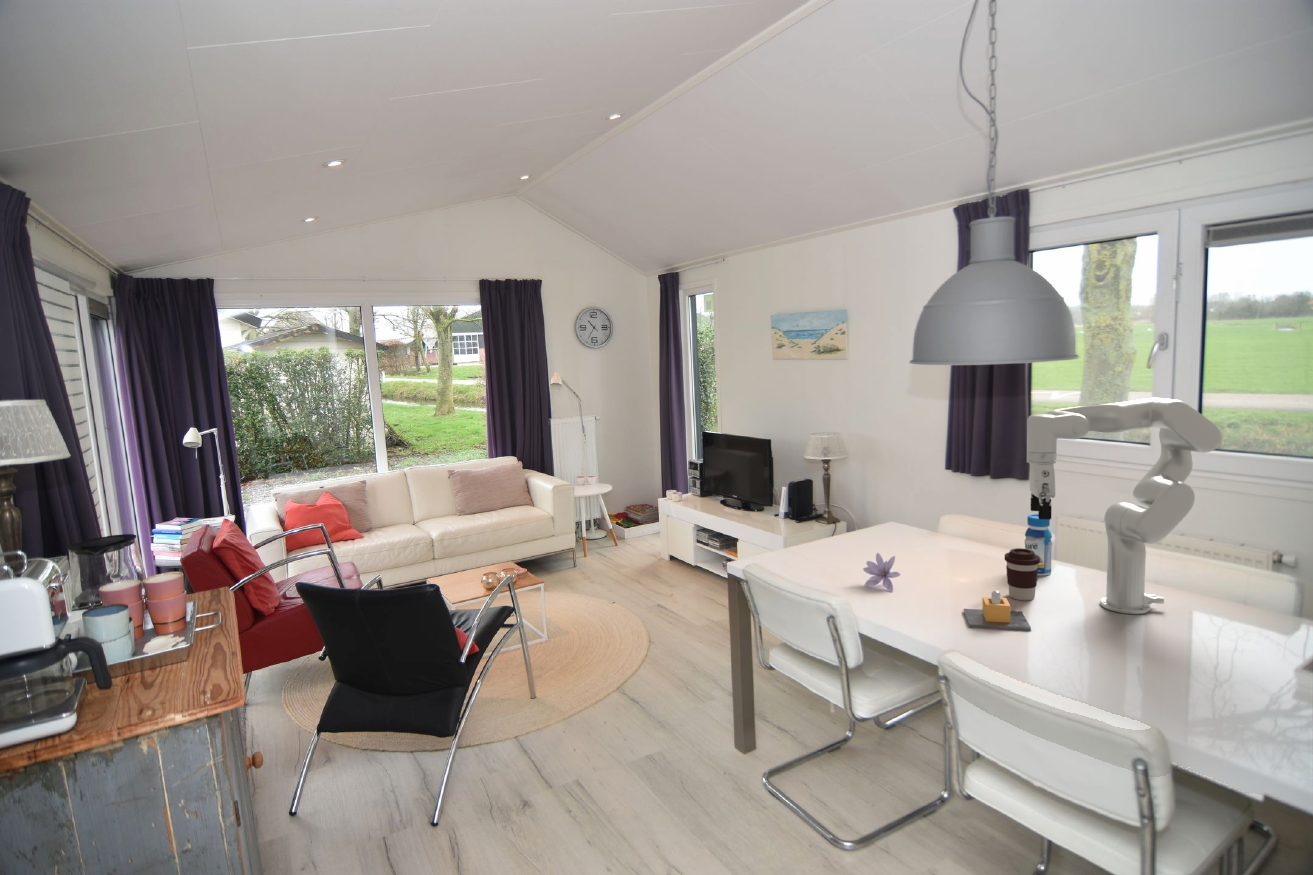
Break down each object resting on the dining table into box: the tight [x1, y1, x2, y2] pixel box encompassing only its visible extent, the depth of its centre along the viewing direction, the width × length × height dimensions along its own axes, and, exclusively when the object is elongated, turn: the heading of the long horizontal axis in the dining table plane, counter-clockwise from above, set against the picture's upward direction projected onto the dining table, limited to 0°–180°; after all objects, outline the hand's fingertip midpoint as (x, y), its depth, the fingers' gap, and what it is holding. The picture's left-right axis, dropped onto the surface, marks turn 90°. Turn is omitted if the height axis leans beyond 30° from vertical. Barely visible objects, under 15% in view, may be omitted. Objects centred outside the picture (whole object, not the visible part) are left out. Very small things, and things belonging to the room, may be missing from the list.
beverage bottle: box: [1024, 513, 1053, 577], centre depth 243 cm, size 8×8×20 cm
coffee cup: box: [1004, 547, 1040, 602], centre depth 222 cm, size 10×10×15 cm
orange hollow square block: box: [981, 596, 1011, 622], centre depth 206 cm, size 6×6×5 cm
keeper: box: [963, 590, 1032, 632], centre depth 206 cm, size 16×12×9 cm
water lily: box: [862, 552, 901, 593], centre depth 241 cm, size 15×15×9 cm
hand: (1040, 514), depth 206 cm, fingers open, 9 cm apart
